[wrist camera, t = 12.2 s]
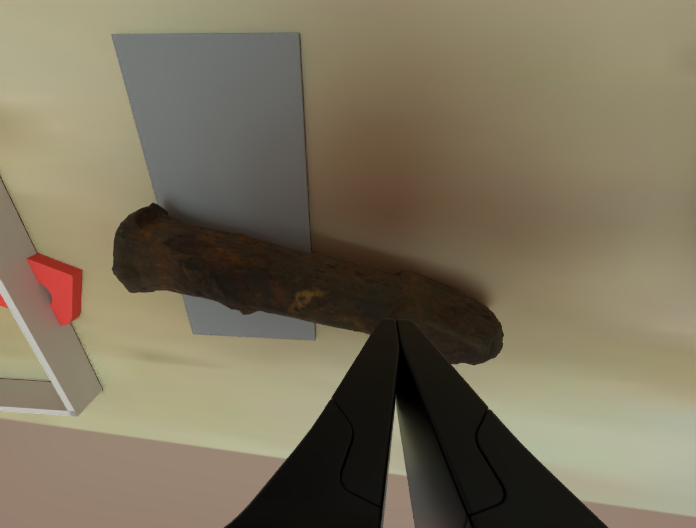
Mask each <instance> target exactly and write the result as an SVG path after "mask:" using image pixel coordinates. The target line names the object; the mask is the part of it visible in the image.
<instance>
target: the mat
mask: <svg viewBox="0 0 696 528" xmlns="http://www.w3.org/2000/svg"><path fill="white" fill-rule="evenodd" d="M111 35H112V39H113V43H114V46H115V50H116V54H117V57H118V61H119V65H120V68H121V72H122V76H123V79H124V83H125V87H126V90H127V94H128V98H129V101H130V105H131V109H132V112H133V116H134V120H135V123H136V127H137V131H138V134H139V138H140V142H141V145H142V149H143V153H144V156H145V160H146V164H147V167H148V171H149V175H150V178H151V182H152V186H153V189H154V193H155V197H156V200H157V204H158V205H159V206H161V207H162V208H164V209H165V210H166V211H167V212H168V216H169V217H171V218H173V219H175V220H178V221H181V222H184V223H188V224H192V225H197V226H202V227H206V228H211V229H215V230H221V231H225V232H228V233H236V234H244V235H246V236H249V237H252V238H255V239H260V240H264V241H267V242H271V243H274V244H277V245H280V246H284V247H288V248H292V249H296V250H299V251H304V252H309V253H311V238H310V220H309V201H308V182H307V163H306V144H305V125H304V106H303V88H302V69H301V50H300V33H205V34H111ZM182 296H183V299H184V303H185V307H186V310H187V314H188V318H189V321H190V325H191V329H192V332H193V334H199V335H218V336H238V337H257V338H277V339H296V340H316V333H315V323H313V322H308V321H304V320H300V319H296V318H291V317H286V316H281V315H277V314H270V313H266V312H263V311H257V312H255V313H252V314H249V315H243V314H242V313H241V312H240V311H238V310H231V309H230V308H228V307H226V306H224V305H222V304H221V303H219V302H216V301H213V300H209V299H205V298H201V297H193V296H189V295H184V294H182Z"/></svg>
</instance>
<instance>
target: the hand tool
mask: <svg viewBox="0 0 696 528" xmlns="http://www.w3.org/2000/svg"><path fill="white" fill-rule="evenodd" d="M113 257H114V260H113V267H112V271H113V273H114V275H115V276H116V277H117V278H118V280H119V281H120V282H121V283H123V285H124V286H125V287H126V289H127V290H128V291H129V292H131V293H137V292H154V291H156V290H168V291H172V292H176V293H180V294H184V295H189V296H193V297H201V298H205V299H209V300H213V301H216V302H219V303H221V304H222V305H224V306H226V307H228V308H230V309H231V310H238V311H240V312H241V313H242V314H243V315H249V314H252V313H255V312H257V311H263V312H266V313H270V314H277V315H281V316H286V317H291V318H296V319H300V320H304V321H308V322H313V323H318V324H323V325H327V326H332V327H337V328H343V329H348V330H353V331H358V332H363V333H366V334H370V335H371V334H372V332H373V331H374V329H375V327H376V326H377V324H378V323H379V321H380V320H381V319H383V318H385V319H395V320H396V321H397V320H398V319H408V320H412V321H413V322H414V323H415V324H416V325H417V326H418V327H419V328H420V330H421V331H422V332H423V333H424V334H425V335H426V336H427V338H428V339H429V340H430V341H431V342H432V343H433V344H434V346H435V347H436V348H437V349H438V350H439V351H440V352H441V354H442V355H443V356H444V357H445V358H446V359H447V360H448V362H449V363H450V364H459V363H467V364H471V365H476V364H481V363H484V362H486V361H488V360H490V359H492V358H495V357H496V356H497V355H498V354H499V353H500V351H501V349H502V346H503V343H502V340H503V339H502V338H503V336H504V334H503V331H502V326H501V323H500V322H499V321H498V319H497V318H496V316H495V315H494V313H493V312H492V311H491V310H490V309H488V308H487V307H486V306H485V305H483V304H482V303H480V302H478V301H477V300H476V299H473V298H471V297H469V296H467V295H466V294H464V293H461V292H459V291H457V290H455V289H454V288H451V287H449V286H447V285H441V284H439V283H437V282H434V281H432V280H430V279H428V278H425V277H423V276H420V275H418V274H416V273H412V272H408V271H401V272H400V273H398V274H397V275H393V274H390V273H386V272H381V271H376V270H372V269H369V268H365V267H362V266H359V265H355V264H351V263H347V262H343V261H339V260H336V259H334V258H331V257H328V256H325V255H321V254H317V253H309V252H304V251H299V250H296V249H292V248H288V247H284V246H280V245H277V244H274V243H271V242H267V241H264V240H260V239H255V238H252V237H249V236H246V235H244V234H236V233H228V232H225V231H221V230H215V229H211V228H206V227H202V226H197V225H192V224H188V223H184V222H181V221H178V220H175V219H173V218H171V217H169V216H168V212H167V211H166V210H165V209H164V208H162V207H161V206H159V205H157V204H155V203H152V204H151V205H150V206H148V207H144V208H141V209H139V210H137V211H135V212H134V213H132V214H130V215H128V217H127V218H126V219H125V220H124V221H123V222H121V224H120V226H119V228H118V229H117V231H116V234H115V238H114V250H113Z"/></svg>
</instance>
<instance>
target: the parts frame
mask: <svg viewBox="0 0 696 528" xmlns="http://www.w3.org/2000/svg"><path fill="white" fill-rule="evenodd" d="M35 254H37V253H36V251H35V249H34V247H33V245H32V243H31V240H30V238H29V236H28V234H27V232H26V230H25V228H24V226H23V224H22V222H21V220H20V218H19V216H18V214H17V211H16V209H15V207H14V205H13V203H12V201H11V199H10V197H9V195H8V193H7V191H6V189H5V187H4V185H3V183H2V180H1V178H0V294H1V296H2V297H3V299H4V301H5V302H6V304H7V306H8V308H9V309H10V311H11V313H12V315H13V316H14V318H15V320H16V322H17V323H18V325H19V327H20V329H21V330H22V332H23V334H24V335H25V337H26V339H27V341H28V342H29V344H30V346H31V348H32V349H33V351H34V353H35V355H36V356H37V358H38V360H39V361H40V363H41V365H42V367H43V368H44V370H45V372H46V374H47V375H48V377H49V379H50V381H51V382H45V381H29V380H13V379H0V411H7V412H22V413H36V414H51V415H65V416H78V415H79V414H80V413H81V412H82V411H83V410H84V409H85V408H86V407H87V406H88V405H89V404H90V403H91V402H92V400H93V399H94V398H95V397H96V396H97V395H98V394H99V393H100V392H101V391H102V388H101V385H100V383H99V381H98V379H97V377H96V375H95V373H94V371H93V369H92V367H91V365H90V363H89V361H88V359H87V356H86V354H85V352H84V350H83V348H82V346H81V344H80V342H79V340H78V338H77V336H76V334H75V332H74V330H73V327H72V325H71V323H69V324H68V325H65V326H60V324H59V322H58V320H57V318H56V316H55V314H54V312H53V310H52V308H51V306H50V304H51V302H52V296H51V293H50V292H49V291H48V289H47V288H46V287H44V286H43V285H42V284H40V283H39V282H38V280H37V278H36V276H35V275H34V273H33V271H32V269H31V267H30V265H29V263H28V261H27V259H26V258H28V257H31V256H33V255H35Z"/></svg>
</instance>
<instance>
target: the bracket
mask: <svg viewBox="0 0 696 528" xmlns="http://www.w3.org/2000/svg"><path fill="white" fill-rule="evenodd" d="M26 259H27V261H28V263H29V265H30V267H31V269H32V271H33V273H34V275H35V276H36V278H37V280H38V282H39V283H40V284H42V285H43V286H44V287H46V288H47V289H48V291H49V292H50V293H51V296H52V302H51V304H50V306H51V308H52V310H53V312H54V314H55V316H56V318H57V320H58V322H59V324H60V326H65V325H68V324H69V323H71V322H72V321H73V320H75V319H76V318H77V317H79V315H80V313H81V290H82V270H81V269H78V268H75V267H73V266H70V265H67V264H65V263H62V262H59V261H57V260H54V259H51V258H49V257H46V256H44V255H41V254H38V253H37V254H35V255H33V256H31V257H28V258H26ZM0 306H3V307H6V308H8V306H7V304H6V302H5V301H4V299H3V297H2V296H1V294H0Z"/></svg>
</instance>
